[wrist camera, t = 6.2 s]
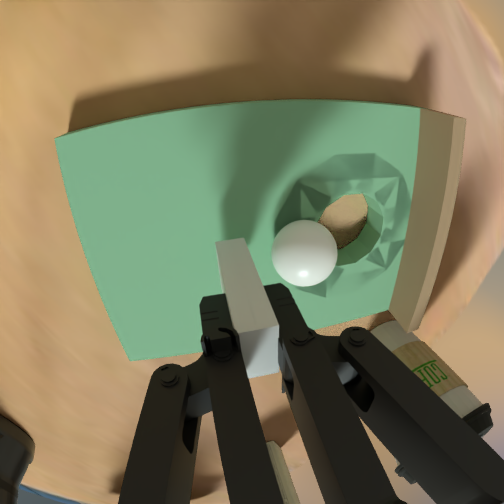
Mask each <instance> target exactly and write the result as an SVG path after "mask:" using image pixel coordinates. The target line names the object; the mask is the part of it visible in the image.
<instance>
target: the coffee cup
mask: <svg viewBox="0 0 504 504" xmlns="http://www.w3.org/2000/svg"><path fill="white" fill-rule="evenodd" d="M370 332H371V333H372V334H373V335H374V336H375V337H376V338H377V339H378V340H379V341H380V342H382V343H383V344H384V345H385V346H386V347H387V348H388V349H389V350H390V351H391V352H392V353H393V354H394V355H396V356H397V357H398V358H399V359H400V360H401V361H402V362H403V363H404V364H405V365H406V366H407V367H408V368H409V369H410V370H412V371H413V372H414V373H415V374H416V375H417V376H418V377H419V378H420V379H421V380H422V381H423V382H424V383H425V384H426V385H427V386H428V387H429V388H430V389H432V390H433V391H434V392H435V393H436V394H437V395H438V396H439V397H440V398H441V399H442V400H443V401H444V402H445V403H446V404H447V405H448V406H449V407H450V408H451V409H452V410H453V411H454V412H455V413H457V414H458V415H459V416H460V417H461V418H462V419H463V420H464V421H465V422H466V423H467V424H468V425H469V426H470V427H471V428H472V429H473V430H474V431H475V432H476V433H477V434H478V435H479V436H480V437H481V438H482V437H483V436H484V435H485V434H486V433H487V432H488V431H489V430H490V429H491V428H492V427H493V422H492V419H491V416H490V413H491V408H490V405H489V403H485V404H482V403H481V402H480V401H479V400H478V399H477V398H476V397H475V395H473V393H472V392H471V391H470V390H469V389H468V386H467V384H466V383H465V382H464V381H463V380H462V379H461V378H460V377H459V376H458V375H457V374H456V373H455V372H454V371H453V370H452V369H451V368H450V367H449V366H448V365H447V364H446V363H445V362H444V361H443V360H442V359H441V358H440V357H439V356H438V355H437V354H436V353H435V352H434V351H433V350H432V349H431V348H430V347H429V346H428V345H427V344H426V343H425V342H423V341H421V340H420V339H419V338H418V337H417V336H415V335H414V334H413V333H412V332H409V333H406V332H405V330H404V329H403V328H402V327H401V325H400V324H399V323H398V321H396V320H394V321H389V322H385V323H383V324H381V325H379V326H377V327H376V328H374V329H373V330H371V331H370ZM395 459H396V458H395ZM396 462H397V465H398V466H397V468H396V469H395V472H396V473H397V474H398V476H400V477H404V478H405V479H406V480H407V481H408V482H409V483H410V484H414V483H416V481H415V480H414V478H413V477H412V476H411V475H410V474H409V473H408V472H407V471H406V470H405V468H404V467H403V466H402V465H401V464H400V463H399V462H398V461H397V459H396Z"/></svg>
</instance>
